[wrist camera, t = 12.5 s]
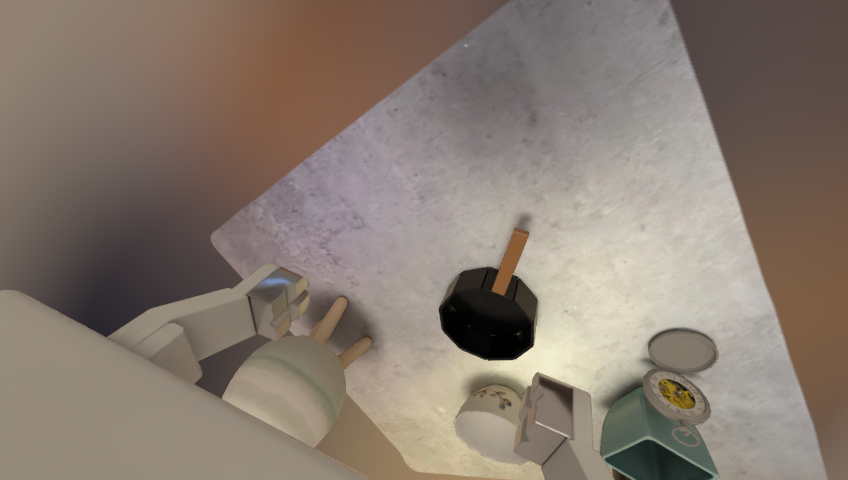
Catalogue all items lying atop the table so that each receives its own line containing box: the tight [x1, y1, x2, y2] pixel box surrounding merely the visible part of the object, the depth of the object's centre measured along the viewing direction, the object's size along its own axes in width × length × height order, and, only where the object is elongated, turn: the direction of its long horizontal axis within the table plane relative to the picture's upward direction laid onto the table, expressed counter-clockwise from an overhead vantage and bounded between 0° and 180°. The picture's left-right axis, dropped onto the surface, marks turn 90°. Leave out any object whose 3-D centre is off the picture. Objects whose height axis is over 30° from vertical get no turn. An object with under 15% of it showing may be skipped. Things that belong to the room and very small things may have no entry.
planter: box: [222, 297, 372, 448], centre depth 54 cm, size 16×16×22 cm
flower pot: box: [600, 387, 720, 480], centre depth 43 cm, size 9×9×9 cm
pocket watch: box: [642, 331, 719, 447], centre depth 37 cm, size 8×8×10 cm
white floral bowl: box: [454, 384, 530, 465], centre depth 55 cm, size 15×12×8 cm
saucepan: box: [439, 228, 537, 361], centre depth 43 cm, size 21×13×5 cm, turn 171°
